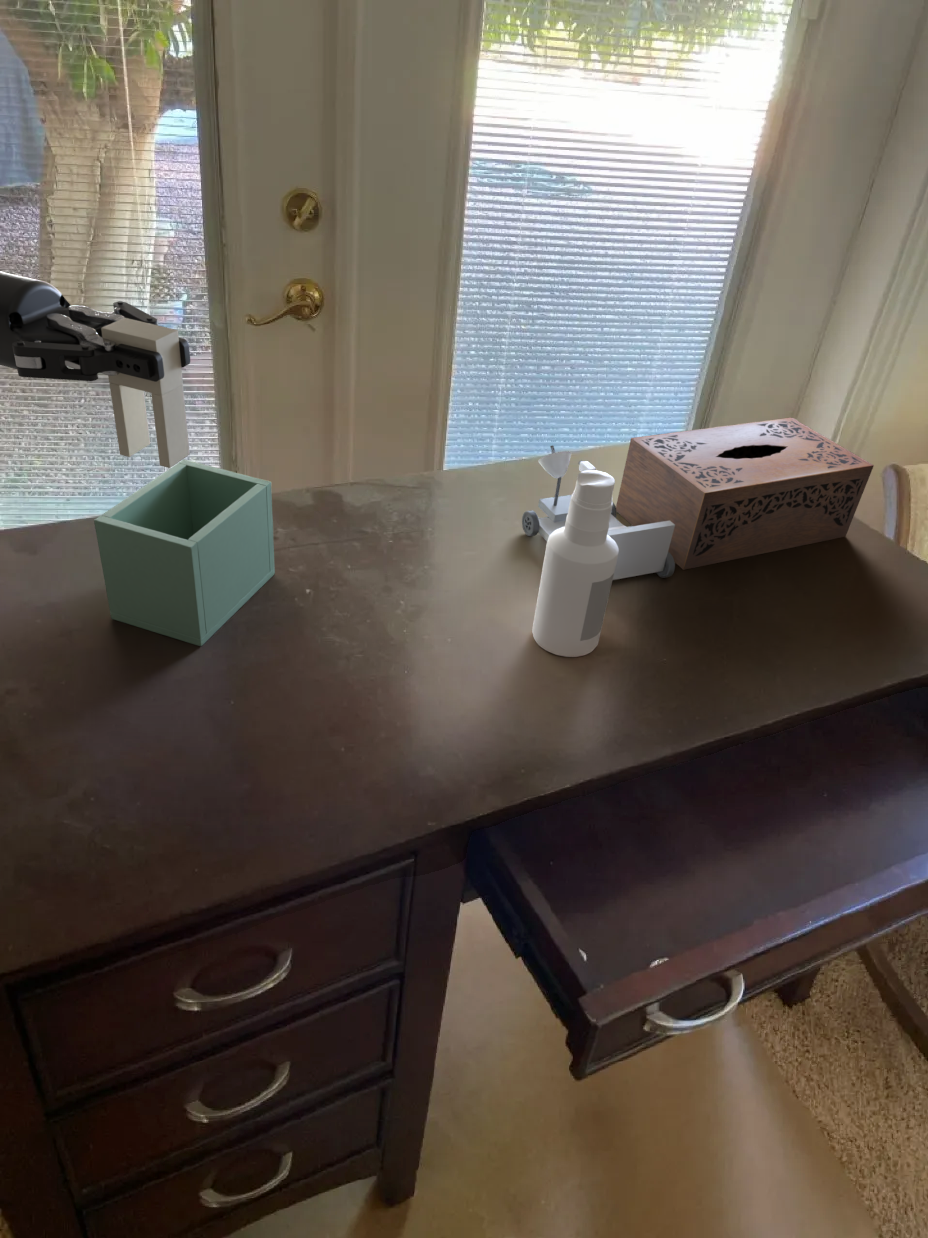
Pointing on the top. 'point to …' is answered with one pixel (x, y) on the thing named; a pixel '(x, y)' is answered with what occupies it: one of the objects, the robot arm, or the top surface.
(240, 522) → the bin
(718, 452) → the tissue box cover
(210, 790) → the top surface
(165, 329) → the clip
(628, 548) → the toy car
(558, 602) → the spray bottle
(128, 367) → the robot arm
